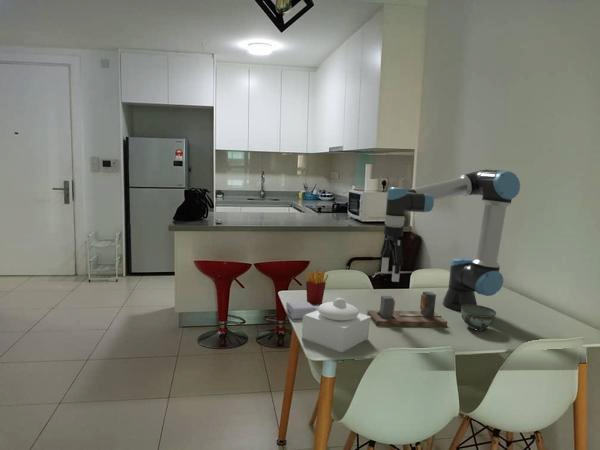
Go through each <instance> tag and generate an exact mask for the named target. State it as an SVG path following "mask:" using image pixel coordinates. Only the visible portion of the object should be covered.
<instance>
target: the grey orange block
mask: <svg viewBox="0 0 600 450" xmlns="http://www.w3.org/2000/svg"><path fill="white" fill-rule="evenodd" d="M380 297H381V298H380V309H379V311H380V317H381V318H382V319H392V315H394V311H395V307H396V300H395V298H394V297H392V296H391V295H381V296H380Z"/></svg>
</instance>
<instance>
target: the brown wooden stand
mask: <svg viewBox="0 0 600 450" xmlns="http://www.w3.org/2000/svg"><path fill="white" fill-rule="evenodd" d="M436 298H437V295H436V294H435V293H434V292H433V291H423V292H422V294H421V295H420V305H419V309H420V310H394V315H392V319H382V318H381V317H380V310H373V309H372V310H369V309H368V310H367V311H366V312H367V313H366V314H367V316H371V319H370V321H372V323H374V325H375V326H376V327H448V321H447V320H446V319H445V318H443V317H442V314H438V313H437V312H436V311H435V308H436Z"/></svg>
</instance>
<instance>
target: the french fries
mask: <svg viewBox="0 0 600 450" xmlns="http://www.w3.org/2000/svg"><path fill="white" fill-rule="evenodd" d="M309 273H310V274H309ZM328 278H329V274H326V276H325V271H323V270H322V271H318V270H315V271H312V270H311V271H310V272H306V279H307V280H306V281H305V288H306V289H305V291H306V302H309V303H310V304H311V305H312V306H319V305H321V304H323V300H324V299H323V298H324V293H325V288H326V282H327V280H328Z"/></svg>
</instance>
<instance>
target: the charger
mask: <svg viewBox="0 0 600 450" xmlns="http://www.w3.org/2000/svg"><path fill="white" fill-rule="evenodd" d="M319 306H320V305H313V304H310V303H309V302H307V301H293V302H289V301H288V302H286V305H285V307H286V308H285V309H286V310H285V311H286V312H285V313H286V314H287V315H288V316H289V317H290V318H291V319H292V320H301V319H302V320H303V317H304V315H306V314H309V313H311V312H314V311H317V310H318V307H319Z"/></svg>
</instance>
